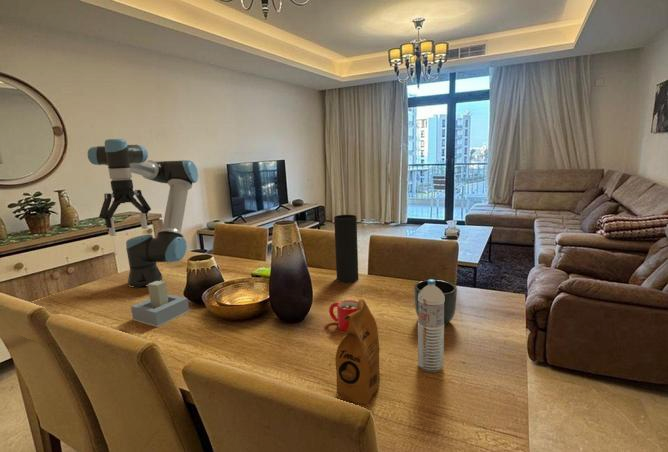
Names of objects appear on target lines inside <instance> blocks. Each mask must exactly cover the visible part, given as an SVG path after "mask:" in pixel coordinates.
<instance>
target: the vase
mask: <svg viewBox="0 0 668 452" xmlns="http://www.w3.org/2000/svg"><path fill="white" fill-rule="evenodd" d="M333 219H334V220H333V221H334V222H333V223H334V244H335V245H334V247H335V265H336V266H335V269H336V270H335V271H336V280H338V282H339V281H340V282H339V283H342V282H344V283H343V284H351V282H352V283H355V281H356V282H358V280H359V256H358V255H359V254H358V225H357V223H358V222H357V219H358V218H357V215H355V214H339V215H335V216H334V217H333Z"/></svg>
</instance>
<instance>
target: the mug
mask: <svg viewBox="0 0 668 452" xmlns="http://www.w3.org/2000/svg"><path fill="white" fill-rule="evenodd" d="M357 303H358V301H357V300H352V299H351V300H348V299H345V300H342V301H340V302H334V303H331V305H330V306H329V309H328V312H329V316H330V318H331V320H333V321H335V322H337V327H338V329H339V330H341V331H343V332H346V331H347V329H348V327H349V325H350V324H349V320H344V317H346V316H347V315H349V314H351V313H354V312H356V311H357ZM335 308H336V309H337V315H335V313H334V309H335Z"/></svg>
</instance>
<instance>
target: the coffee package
mask: <svg viewBox="0 0 668 452" xmlns="http://www.w3.org/2000/svg"><path fill="white" fill-rule="evenodd" d="M357 302H358V303H357V311H356V312H354V313H351V314H349V315H347V316H346V317H344V320H349V324H350V325H349V327H348V329H347V331H345V333H344V335H343V337H342V339H341V340H340V342H339V343H338V346H337V349H336V353H335V357H334V360H335V372H336V395H337V396H338V397H339V399H342V400H347V401H349V402H352V403H353V402H354V403H355V404H356V405H357V404H358V405H367V404H368V403H369V402H370V400H371V398H372V396H373V394H375V393H376V392H377V391H378V389H379V387H380V381H381V376H380V341H379V339H380V338H379V331H378V325H377V322H376V319H375V317H374V315H373V314H372V312H371V310H370V308H369V306H368V304H367V303H366V301H365V299H363V298H362V299H359V300H358V301H357Z"/></svg>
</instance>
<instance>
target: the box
mask: <svg viewBox="0 0 668 452" xmlns="http://www.w3.org/2000/svg"><path fill="white" fill-rule="evenodd" d="M166 283H167V282H166V281H163V280H162V281H155V282H152V283H150V284H148V286H147V290H148V294H149V299H150V301H151V307H152V308H153V309H155V308H157V307H160V306H162V305H164V304H166V303H169V300H168V294H169V293H168V289H167V284H166Z"/></svg>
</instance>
